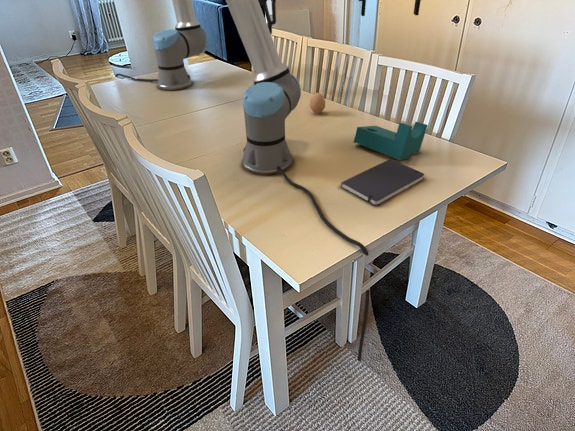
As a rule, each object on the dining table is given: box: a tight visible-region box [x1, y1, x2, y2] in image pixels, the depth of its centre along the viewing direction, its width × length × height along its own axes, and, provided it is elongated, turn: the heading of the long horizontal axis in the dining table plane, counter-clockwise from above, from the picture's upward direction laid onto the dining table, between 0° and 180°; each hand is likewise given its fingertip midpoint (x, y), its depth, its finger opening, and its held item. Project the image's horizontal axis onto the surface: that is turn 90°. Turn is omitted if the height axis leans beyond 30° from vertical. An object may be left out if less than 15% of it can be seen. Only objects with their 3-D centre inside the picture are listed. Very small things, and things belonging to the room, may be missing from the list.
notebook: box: [340, 158, 425, 206], centre depth 114 cm, size 13×2×21 cm
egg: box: [309, 92, 326, 114], centre depth 156 cm, size 6×6×8 cm
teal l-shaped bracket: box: [353, 121, 428, 161], centre depth 129 cm, size 18×11×10 cm, turn 43°
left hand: (261, 42), depth 165 cm, fingers closed on brick, 5 cm apart
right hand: (389, 15), depth 105 cm, fingers open, 13 cm apart
